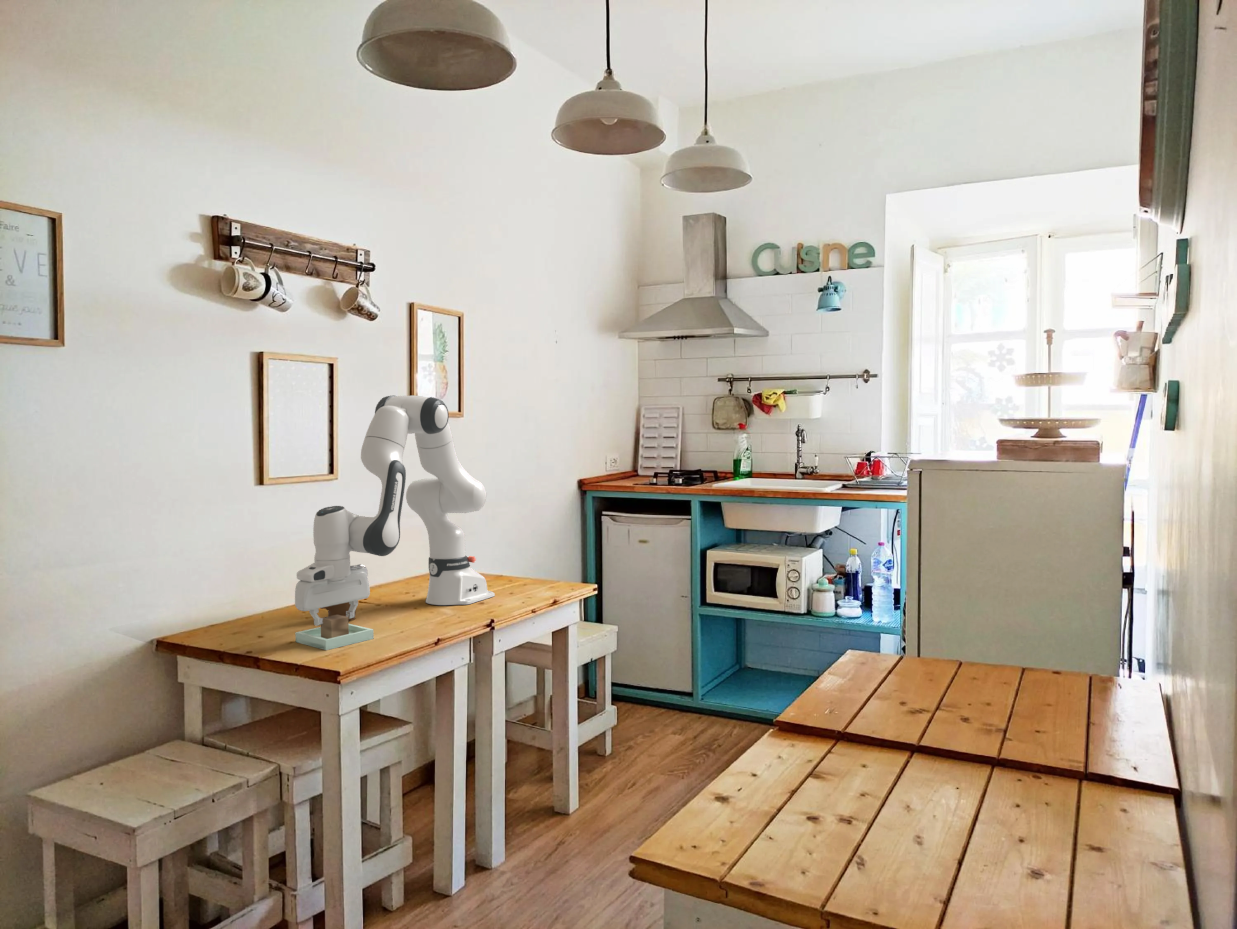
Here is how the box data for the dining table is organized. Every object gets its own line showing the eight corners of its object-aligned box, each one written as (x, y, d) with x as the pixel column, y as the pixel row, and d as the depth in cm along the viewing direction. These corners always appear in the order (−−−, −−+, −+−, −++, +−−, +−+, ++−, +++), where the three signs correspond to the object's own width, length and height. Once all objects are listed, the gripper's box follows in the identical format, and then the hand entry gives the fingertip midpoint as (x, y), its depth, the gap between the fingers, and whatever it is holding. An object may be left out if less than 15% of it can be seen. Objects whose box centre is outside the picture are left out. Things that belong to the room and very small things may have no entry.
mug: (319, 626, 240) (318, 593, 239) (309, 622, 245) (308, 589, 245) (360, 619, 248) (359, 587, 247) (349, 615, 253) (348, 583, 253)
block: (337, 633, 228) (337, 614, 227) (348, 636, 224) (348, 617, 224) (320, 637, 224) (320, 618, 223) (331, 639, 220) (331, 620, 220)
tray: (342, 631, 234) (342, 622, 234) (373, 638, 225) (373, 629, 225) (295, 642, 223) (295, 632, 223) (326, 650, 214) (325, 640, 214)
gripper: (359, 562, 233) (361, 612, 234) (290, 573, 217) (292, 627, 218) (373, 564, 229) (375, 615, 230) (304, 576, 214) (306, 631, 214)
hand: (334, 621), depth 224 cm, fingers open, 8 cm apart
